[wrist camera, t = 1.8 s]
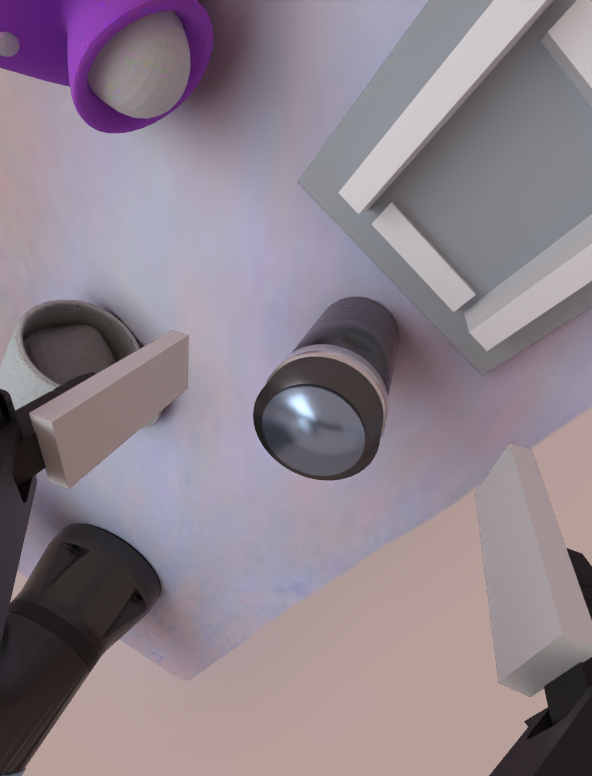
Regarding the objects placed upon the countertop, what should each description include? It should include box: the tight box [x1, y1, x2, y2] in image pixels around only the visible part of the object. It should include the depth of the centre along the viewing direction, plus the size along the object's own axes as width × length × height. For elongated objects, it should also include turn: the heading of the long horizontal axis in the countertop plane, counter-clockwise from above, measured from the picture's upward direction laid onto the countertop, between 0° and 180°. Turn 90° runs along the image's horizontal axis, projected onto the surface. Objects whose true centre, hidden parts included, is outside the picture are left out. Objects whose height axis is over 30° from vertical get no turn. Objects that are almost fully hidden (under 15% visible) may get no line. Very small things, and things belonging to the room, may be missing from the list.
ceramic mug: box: [0, 300, 162, 428], centre depth 27 cm, size 11×8×8 cm
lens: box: [253, 297, 399, 480], centre depth 18 cm, size 5×5×10 cm
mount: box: [298, 0, 592, 376], centre depth 15 cm, size 12×14×4 cm
